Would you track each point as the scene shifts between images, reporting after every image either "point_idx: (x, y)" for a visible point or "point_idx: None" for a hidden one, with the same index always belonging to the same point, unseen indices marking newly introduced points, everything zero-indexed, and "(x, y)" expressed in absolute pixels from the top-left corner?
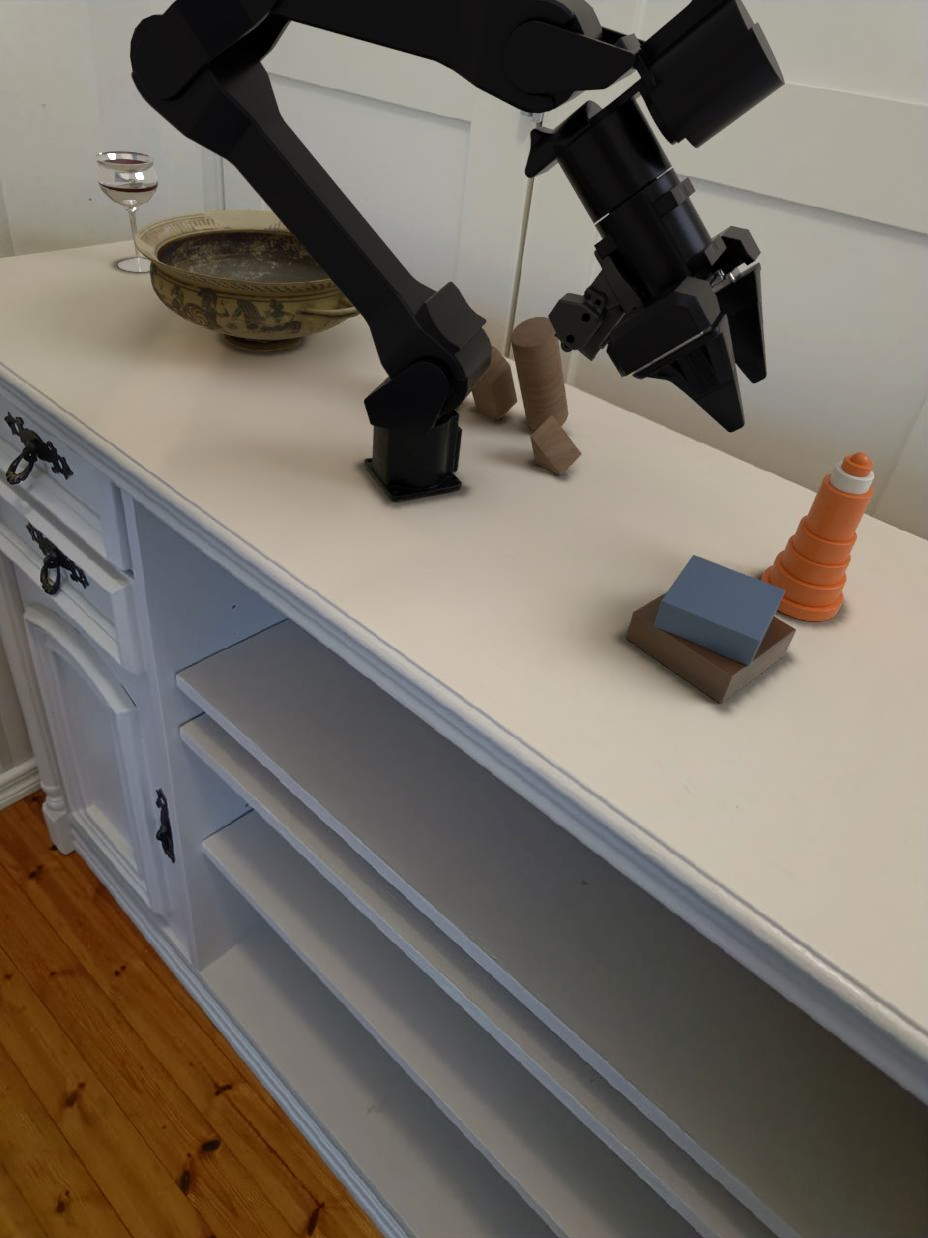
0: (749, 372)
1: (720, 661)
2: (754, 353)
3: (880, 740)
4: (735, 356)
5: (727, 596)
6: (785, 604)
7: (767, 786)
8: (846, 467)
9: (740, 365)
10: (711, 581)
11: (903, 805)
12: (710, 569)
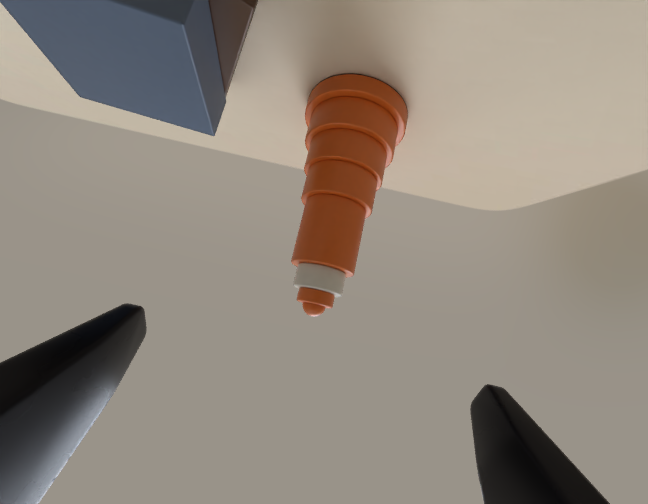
0: (495, 420)
1: None
2: (495, 489)
3: (184, 128)
4: (539, 488)
5: (122, 71)
6: (308, 103)
7: (27, 40)
8: (302, 293)
9: (516, 447)
10: (131, 52)
11: (133, 126)
12: (164, 53)
